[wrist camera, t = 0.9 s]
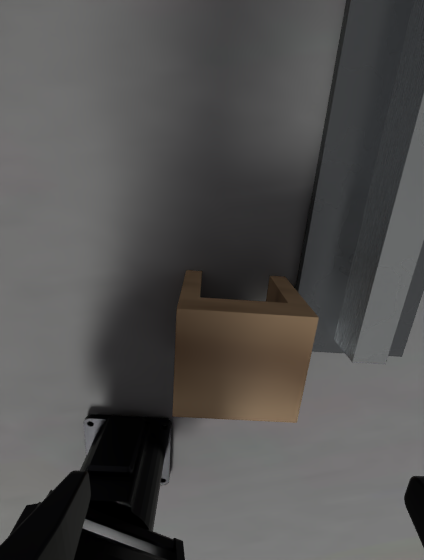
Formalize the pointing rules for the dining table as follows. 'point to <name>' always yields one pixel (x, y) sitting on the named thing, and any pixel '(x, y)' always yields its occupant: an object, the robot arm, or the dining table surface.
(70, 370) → the dining table surface
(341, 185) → the rail
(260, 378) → the walnut clip
